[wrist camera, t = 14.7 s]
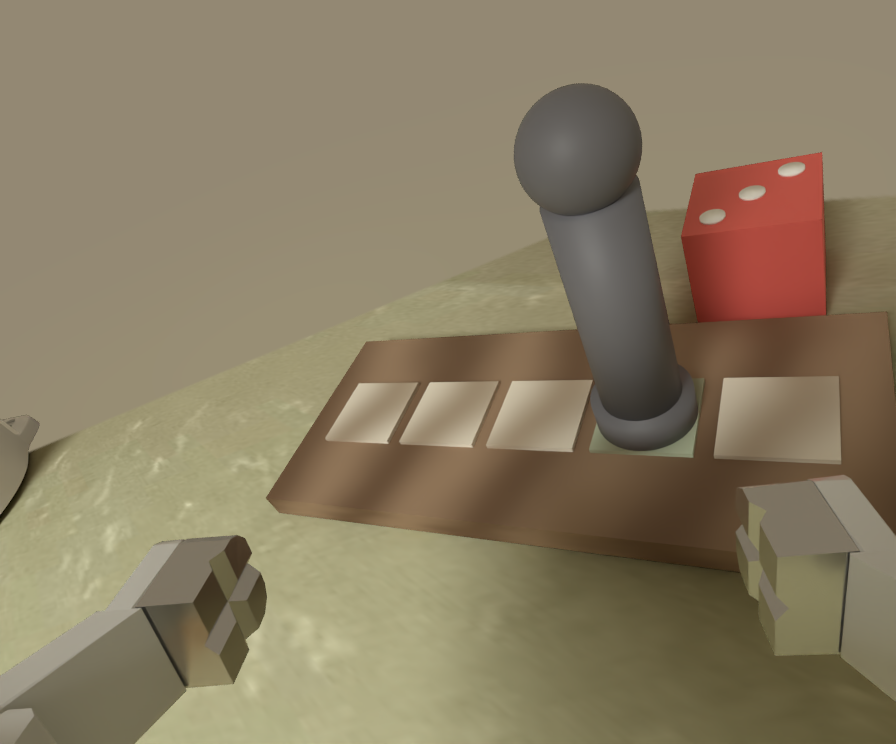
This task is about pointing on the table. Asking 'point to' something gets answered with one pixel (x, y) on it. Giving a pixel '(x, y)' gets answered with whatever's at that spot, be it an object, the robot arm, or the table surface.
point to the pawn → (607, 260)
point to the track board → (597, 437)
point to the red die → (757, 241)
